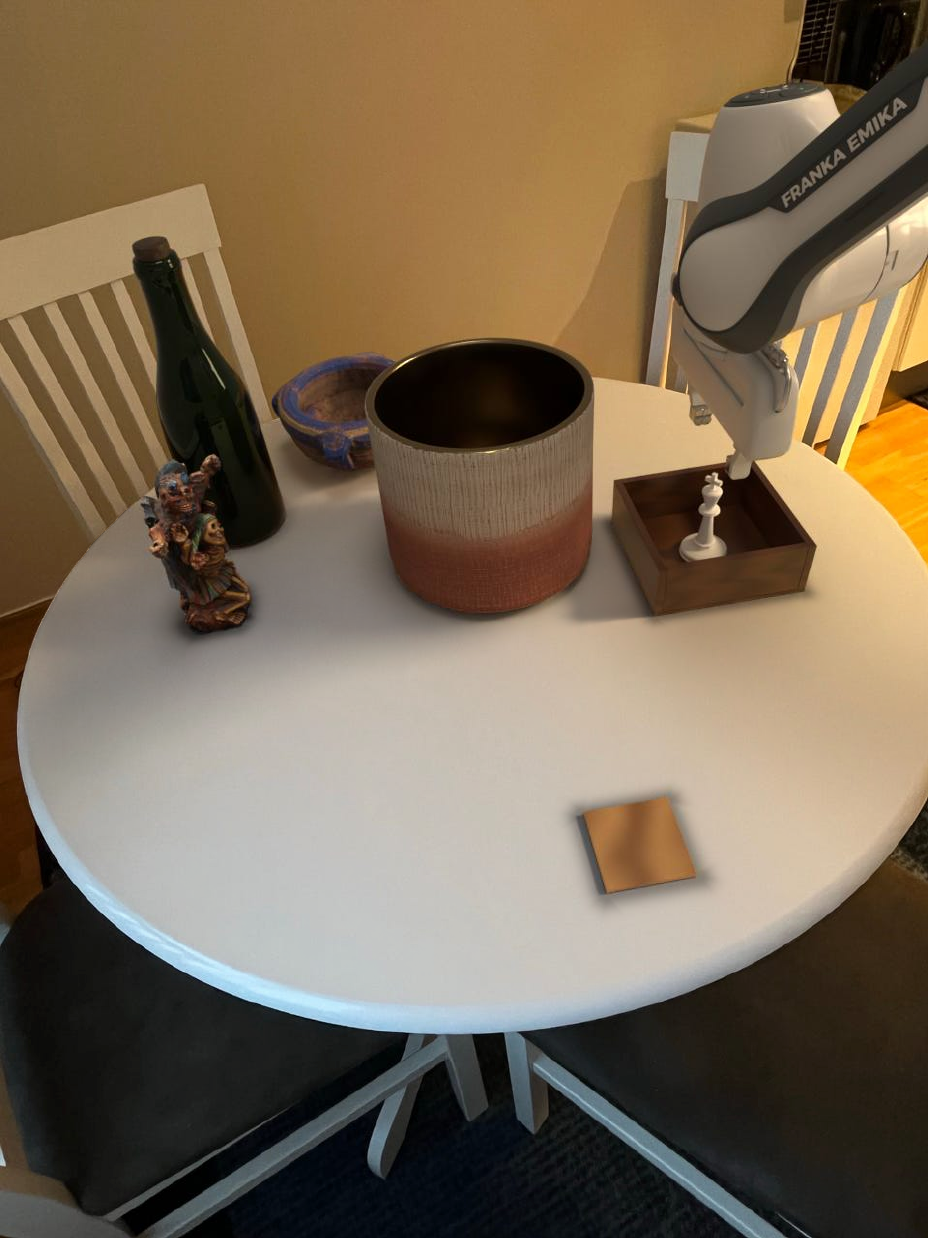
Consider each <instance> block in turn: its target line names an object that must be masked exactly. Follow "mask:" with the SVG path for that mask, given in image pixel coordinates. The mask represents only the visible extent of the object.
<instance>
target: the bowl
mask: <svg viewBox="0 0 928 1238" xmlns="http://www.w3.org/2000/svg"><path fill="white" fill-rule="evenodd" d="M397 361H398V360H395V359H392V358H388V357H385V355H384V354H382V353H378V352H375V351H366V352H365V351H364V352H359V353H356V354H349V355H342V356H337V357H332V358H329V359H325V360H322V361H319V362H316V363H315V364H312V365H311V366H309V367H306V368H304V369H303V370H302V371H300V372H299V373H297V374H296V375H295V376H294V377H292V378H291V379H290V380H289V381H287V382H286V383H284V384H283V385H281V387H279V388H278V389H277V390H276V392H275V393H274V395H273V397H272V399H271V407H272V410H273V412H274V414H275V415H276V416H277V417H278V418H279V420H280V423H281V425H282V427H283V428H284V430H285V431H286V433H287V434H288V435H289V437H290V439H291V441H292V442H293V443H294V445H295V446H296V447H297V448H298V450H299V451H300V452H301V453H302V454H303V455H305V456H306V458H308V459H310V460H312V461H313V462H315V463H317V464H318V465H321V466H323V467H325V468H329V469H333V470H337V471H343V472H356V471H360V470H364V469H367V468H368V469H369V468H372V467H375V463H374V458H373V452H372V446H371V441H370V435H369V430H368V424H367V419H366V413H365V398H366V394H367V392H368V390H369V388H370V386H371V384H372V383H373V382H374V380H375V379H376V378H377V377H378V376H379V375H380V374H381V373H382V372H383V371H384V370H386V369H387V368H388V367H390V366H391V365H393V364H394V363H396V362H397Z"/></svg>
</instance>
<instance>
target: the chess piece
mask: <svg viewBox="0 0 928 1238" xmlns="http://www.w3.org/2000/svg"><path fill="white" fill-rule="evenodd" d="M717 477H718V474H717V473H715V472H714V473H712V475H711V476H709V475H708V476H706V477H705V481H707V482H709V483H710V485H707V486H705V487H703V489H702V495H703V498H704V503H703V504H701V505H700V507H699V512H700V514H702V515H703V519H702V522H701V526H700V529H699V532H698V533H695V534H691V535H689V536H687V537H686V538H684V539H683V541H682V542H681V546H680V548H679V552H680V555H681V557H682V558H683V559H684V560H685V561H687V562H690V561H696V560H702V559H708V558H714V557H720V556H726V555H727V547H726V544H725V542H724V541H723V540H722V539H720V538H719V537H717V536H715V535H713V517H714V516H717V515H718V514H719V513H720V508H719V506H718V505H717V502H718V500H719V498H720V497H721V495H722V493H723V491H722V489H721V488H720V486H721V485H722V482H723V481H721V480H718V479H717Z"/></svg>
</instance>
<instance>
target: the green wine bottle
mask: <svg viewBox="0 0 928 1238" xmlns="http://www.w3.org/2000/svg"><path fill="white" fill-rule="evenodd" d="M131 248H132V249H131V250H132V253H133V255H134V256H133V258H132V261H131V263H132V269H133V274H134V276H135V278H136V279H137V281H138V283H139V287H140V289H141V292H142V294H143V299H144V301H145V304H146V307H147V310H148V315H149V318H150V321H151V325H152V329H153V335H154V339H155V349H156V374H155V376H156V377H155V403H156V409H157V417H158V420H159V423H160V426H161V429H162V433H163V435H164V439H165V442H166V445H167V447H168V451H169V454H170V456H171V460H172V459H174V460H175V461H177V462H178V463H180V464H182V463H183V464H184V465H186V469H187V475H188V477H189V476H190V475H191V474H192V473H195V472H198V471H201V469H200V468H201V466H202V463H203V462H204V461H205V459H206V457H208V456H210V455H213V454H214V455H215V456H217V457H218V458H219V460H220V461H221V469H220V471H219V470H217V472H216V473H215V474H214V475H213V476H211V477H209V485H210V488H209V489H208V488H207V489H206V490H205V492H204V498H203V501H204V500H205V501H209V502H213V503H214V504H216V506H217V507H216V508H217V509H216V513H215V515H216V518H217V519H218V523H220V527H223V529H224V537H225V539H226V542H227V544H228V547H242V546H245V545H250V544H253V543H256V542H258V541H261V540H263V539H265V538H267V537H268V536H270V535H271V534H273V533H274V532H275V531H276V530H277V529H278V528H279V527H280V525H281V524H282V523H283V520H284V517H285V514H286V508H285V503H284V498H283V495H282V491H281V489H280V485H279V482H278V479H277V475H276V472H275V468H274V465H273V462H272V459H271V456H270V452H269V449H268V446H267V442H266V441H265V436H264V433H263V430H262V427H261V424H260V421H259V418H258V414H257V412H256V410H255V407H254V404H253V401H252V398H251V396H250V395H251V394H250V393H249V391H248V389H247V387H246V385H245V384H244V382H243V380H242V378H241V376H240V375H239V373H238V372H237V371H236V369H235V368H234V367H233V366H232V364H231V363H230V362H229V360H228V359H227V358H226V356H225V355H224V354H223V353H222V352H221V350H220V349H219V347H218V346H217V345H216V343H215V342H214V341H213V339H212V337H211V336H210V335H209V333H208V331H207V330H206V328H205V326H204V323H203V322H202V319H201V317H200V315H199V313H198V310H197V308H196V306H195V303H194V300H193V297H192V295H191V292H190V289H189V287H188V286H189V285H188V283H187V280H186V277H185V275H184V271H183V270H184V269H183V265H182V264H183V263H182V261H181V258H180V256H179V255H178V253H177V251H176V250H175V249H174V248H172V247H171V245H170V243H169V241H168V238H167V237H165V236H161V235H152V236H147V237H143V238H140V239H138V240H136V241H135V242H133V243H132V244H131ZM203 501H202V502H203Z"/></svg>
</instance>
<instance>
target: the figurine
mask: <svg viewBox="0 0 928 1238" xmlns="http://www.w3.org/2000/svg"><path fill="white" fill-rule="evenodd" d="M200 469H201V471H198V472H195V473H192V474H191V475H190V476H189V477H188V475H187V469H186V465H184V464H183V463H182V464H180V463H178V462H177V461H175V460H174V459H172V458H171V459H170V460H169V461H168V460H166V463H164V464H162V468H159V471H158V473H156V476H155V481H154V492H155V495H156V498H155V497H152V496H149V495H143V496H142V497H141V501H140V507H141V508H143V512H144V518H143V521H144V524H145V525H146V526H147V530H148V537H149V538H150V539H151V541H152V544H151V545H150V546H149V548H148V550H149V551H150V552H151V554H152V555H153V557H154V558H157V559H159V560H160V562H161V564H162V565H163V568H165V573H166V576H167V579H168V583H169V586H170V588H171V589H173V590H176V592H177V591H178V592H179V600H180V604H179V607H180V609H181V611H182V612H183V613H184V617H185V620H184V623H186V624H187V626H188V628H189V629H190V630H191V631H192V632H193V633H194V634H197V635H205V634H208V633H212V632H214V631H226V630H227V631H228V630H231V629H236V628H240V627H242V626H243V623H245V621H246V620H247V618H248V617H247V614H248V611H249V605H250V602H251V600H252V599H253V598H252V595H250V593H251V592H250V589H249V586H248V585H247V582H246V581H245V579H244V578H243V577H242V576H241V574H240V573H239V572H238V571H237V568H236V566H235V564H234V561H233V560H232V559H230V558H226V554H227V553H229V552H230V546H228V544H227V542H226V539H225V537H224V529H223V527H220V523H218V519H217V518H216V515H215V513H216V509H217V508H216V507H217V506H216V504H214V503H213V502H209V501H205V500H204V501H203V498H204V492H205V490H206V489H207V488H208V489H209V488H210V485H209V477H211V476H213V475H214V474H215V473H216V472H217V470H219V471H220V469H221V461H220V460H219V458H218V457H217V456H215V455H214V454H213V455H210V456H208V457H206V459H205V461H204V462H203V463H202V466H201V468H200ZM202 501H203V502H202Z"/></svg>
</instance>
